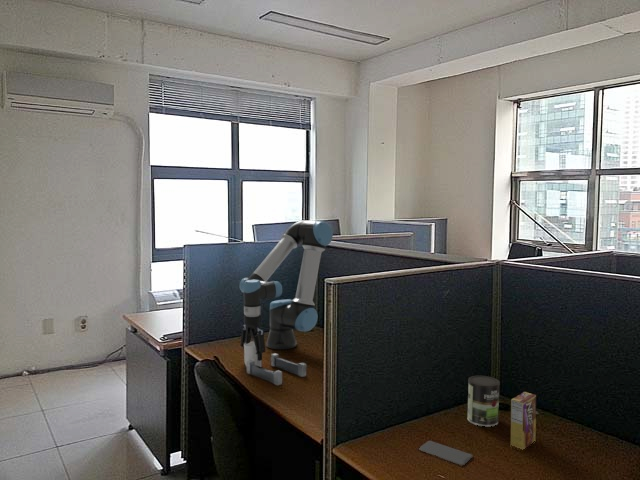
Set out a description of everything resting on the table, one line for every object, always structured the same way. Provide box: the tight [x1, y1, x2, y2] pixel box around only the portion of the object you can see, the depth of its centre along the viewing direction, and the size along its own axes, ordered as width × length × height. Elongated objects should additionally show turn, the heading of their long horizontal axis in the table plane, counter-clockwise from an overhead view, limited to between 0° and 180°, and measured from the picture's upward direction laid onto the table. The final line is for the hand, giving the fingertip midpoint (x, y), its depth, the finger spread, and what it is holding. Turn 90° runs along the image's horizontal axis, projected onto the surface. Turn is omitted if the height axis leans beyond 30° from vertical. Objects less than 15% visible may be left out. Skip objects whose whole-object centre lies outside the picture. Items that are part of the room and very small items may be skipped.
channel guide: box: [246, 352, 307, 386], centre depth 223 cm, size 16×20×5 cm
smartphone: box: [418, 440, 474, 466], centre depth 156 cm, size 8×1×15 cm
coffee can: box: [466, 375, 501, 428], centre depth 178 cm, size 10×10×14 cm
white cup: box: [243, 340, 257, 368], centre depth 234 cm, size 8×8×10 cm
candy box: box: [510, 391, 537, 450], centre depth 161 cm, size 9×4×15 cm, turn 133°
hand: (252, 364), depth 234 cm, fingers closed on white cup, 8 cm apart
